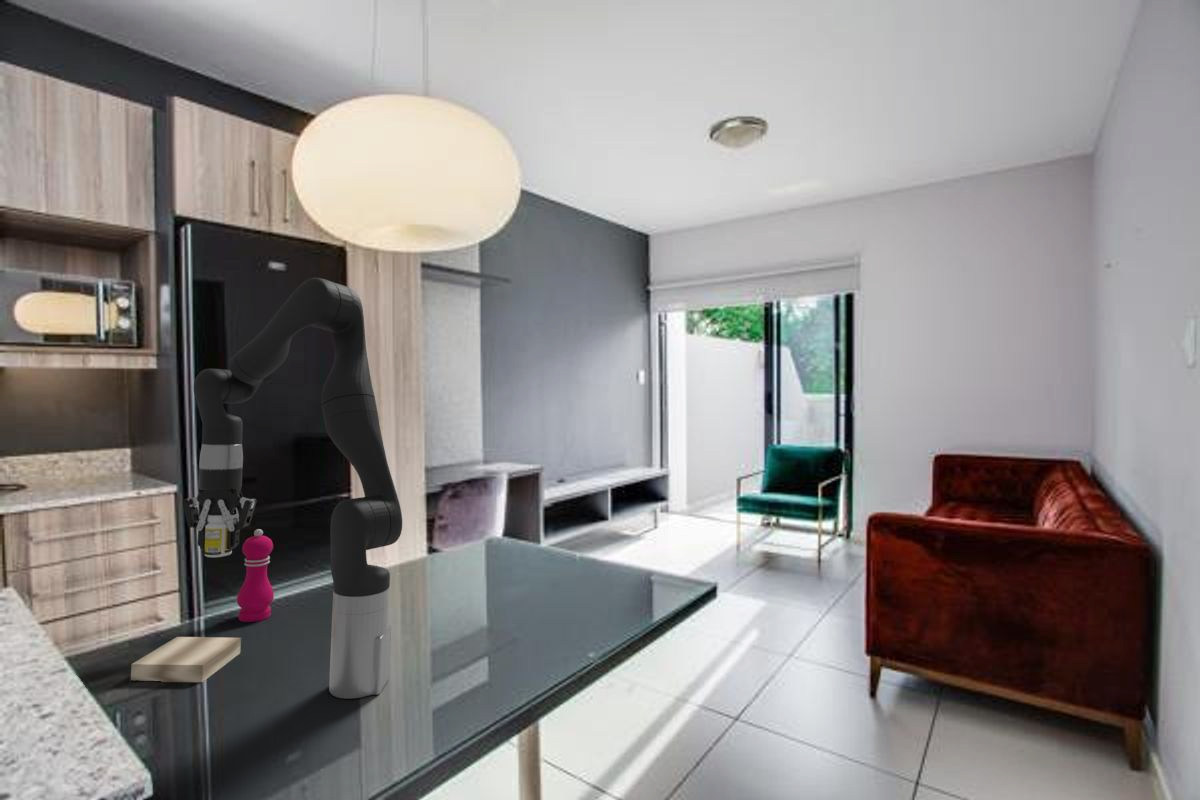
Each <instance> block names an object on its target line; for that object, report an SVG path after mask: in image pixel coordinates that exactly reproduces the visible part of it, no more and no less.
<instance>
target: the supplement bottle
mask: <svg viewBox="0 0 1200 800" xmlns="http://www.w3.org/2000/svg"><path fill="white" fill-rule="evenodd" d="M230 515H231V514H230ZM208 522H209V523H208V524H207V525H206V526H205V549H204V556H205V557H207V558H222V557H226V556H230V555H231V554H232V553H233V549H227V536H228V531H229V529H228V526H227V523H226V521H224V519H223V515H208Z"/></svg>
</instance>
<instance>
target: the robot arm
mask: <svg viewBox="0 0 1200 800" xmlns="http://www.w3.org/2000/svg"><path fill="white" fill-rule="evenodd" d="M273 315H274V316H273V317H272V318H271V319H270V320H269V322H268V323H267V324H266V326H265V327H264V328H263V329H262V330H261V331H260V333H258V334H256V336H255V337H254V338H252V339H251V340H250V341H249V342H248V343H246V345H244V346H243V347H241V349H239V350H238V351H237V352H236V353H234V355H233V356H232V357H231V358H230V360H229V363H228V368H229V369H221V368H205V369H203V370H201V371H200V372H199V373H198V374H197V376H196V377H195V379H194V382H193V393H194V398H195V401H196V405H197V408H198V411H199V412H198V413H199V416H200V419H201V423H202V433H201V434H202V435H201V449H200V453H199V462H198V463H199V468H198V470H199V471H198V473H199V474H198V489H199V493H198V494H197V496H195V497H188V498H184V499H183V500H182V503H181V504H182V507H183V510H184V515H185V520H186V524H187V527H188V528H193V529H196V530H197V545H198V547H199V549H200V550H205V526H206V525H207V524H208V523H209V522H208V515H223V519H224V521H226V523H227V526H228V529H229V531H228V536H227V549H232V550H233V549H236V548H237V547H238V545H239V544H240V531H241V530H242V529H243V528H246V527H248V526H250V524H251V521H252V518H253V515H254V511H255V508H256V504H257V502H258V501H257V499H256V498H247V497H244V496H243V494H242V486H243V467H244V466H243V463H244V451H243V432H244V431H243V429H244V428H243V419H242V418H241V417H240V416H237V415H233V414H229V413H228V412H226V410H225V407H224V404H242V403H244V402H246V401H249V400H250V399H252V397H253V396H254V395H255V394H256V392H257V390H258V388H259V387H260V386H261V384H262V383H263V381H264V379H265V378H267V377H269V375H271V374H272V373H274V371H276V370H277V369H278V368H280V367H281V365H282V364H283V363H284V362H285V361H286V359H287V357H288V355H289V352H290V348H291V341H292V339H293V337H294V336H295V335H296V334H297V333H299V332H300V331H302V330H304V329H306V328H308V327H313V328H315V329H319V330H325V331H329V332H330V334H331V338H332V343H333V350H334V351H333V352H334V360H333V364H332V366H331V369H330V370H329V373H328V375H327V377H326V380H325V382H324V384H323V387H322V390H321V393H320V394H321V395H320V400H321V401H320V402H321V403H320V404H321V408H322V409H321V410H322V416H323V420H324V427H325V431H326V433H327V435H328V437H329V438H330V440H331V441H332V443H333V444H334V445H335V447H336V448H337V449H338V451H340V452H341V454H342V455H343V456H344V457H345V458H346V459H347V460H348V462H349V463H350V465H351V466H352V467H353V469H354V470H355V471H356V473H357V475H358V478H359V481H360V483H361V487H362V490H363V493H364V496H362V497H354V498H348V499H344V500H341V501H339V502H338V503H337V504H336V505H335V507H334V509H333V511H332V512H331V513H332V514H331V519H330V528H329V529H330V531H329V532H330V539H329V540H330V573H331V577H332V582H333V588H332V589H333V591H332V609H331V610H332V612H331V633H330V634H331V635H330V636H331V637H330V639H331V640H330V656H329V657H330V659H329V677H328V681H329V686H328V688H329V689H328V691H329V693H330V694H331V695H332V696H333V697H335V698H339V699H347V700H348V699H351V700H352V699H359V698H365V697H368V696H373V695H379V694H381V692H382V690H383V689H384V687H385V686H386V685H387V682H388V681H389V680H390V670H391V669H390V667H391V646H392V645H391V643H392V626H390V625H389V607H390V589H391V587H390V585H391V582H390V581H391V575H390V574H391V573H390V571H389V570H388V569H387V568H385V567H383V566H378V565H373V564H368V561H367V559H368V558H367V551H368V550H373V549H378V548H382V547H383V548H384V547H389V546H391V545H393V544H395V543H397V542H398V540H399V538H400V537H401V535H402V530H403V515H402V508H401V504H400V501H399V497H398V493H397V491H396V486H395V483H394V481H393V478H392V477H393V476H392V473H391V471H390V467H389V464H388V459H387V455H386V450H385V446H384V441H383V436H382V432H381V425H380V418H379V412H378V407H377V402H376V396H375V393H374V392H375V391H374V389H373V383H372V377H371V371H370V366H369V358H368V353H367V352H368V351H367V344H366V343H367V342H366V328H365V318H364V317H365V315H364V307H363V303H362V300H361V298H360V296H359V294H358V293H357V292H356V291H355V290H354V289H352V288H351V287H349V286H346V285H343V284H340V283H336V282H334V281H330V280H328V279H324V278H321V277H310V278H308V279H306V280H305V281H302V283H301V284H299V285H298V286H297V287H296V288H295V290H293V292H292V293H291V294H290V296H289V297H287V299H286V301H285V302H284V303H283V304H282V305H281V306H280V308H279V309H278V310H277V311H276V313H275V314H273ZM199 505H200V506H201V508H202V510H201V512H200V511H199ZM239 505H240V508H241V509H242V510H241V513H240V514H239V510H238V507H239ZM230 514H231V515H230Z"/></svg>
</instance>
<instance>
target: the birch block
mask: <svg viewBox="0 0 1200 800" xmlns="http://www.w3.org/2000/svg"><path fill="white" fill-rule="evenodd" d="M241 643H242V637H224V636H222V637H220V636H219V637H214V636H212V637H210V636H209V637H207V636H206V637H205V636H202V637H201V636H176V637H175V638H173V639H171V640H170V641H168V642H166V643H164V644H163V645H161V646H159V647H157V648H156V649H155V650H153V651H151V652H150V653H148V654H146V655H144V656H143V657H141V658H139V659H138V660H136V661H135V662H132V663H131V665H130V666H131V668H130V669H131V670H130V681H131V680H154V681H161V682H160V683H204V681H206V680H207V679H209V678H210V677H211V676H213V674H215V673H216V672H218V671H219V670H221V669H222V668H223V667H224V666H225V665H227V664H228V663H229V662H231V661H232V660H233V659H235V658H236V657H238V656H239V655H240V654H241V647H242V646H241Z"/></svg>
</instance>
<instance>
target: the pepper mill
mask: <svg viewBox="0 0 1200 800" xmlns="http://www.w3.org/2000/svg"><path fill="white" fill-rule="evenodd" d="M253 534H254V535H252V536H250V537H249V538H247V539H246V540H245V541H244V543H243V544H242V551H241V552H242V554H243V555H244V556H245V558H244V564H243V565H244V566H246V568H245V569H246V573H245V574H246V575H245V578H244V581H243V583H242V585H241V587H240V589H239V592H238V594H237V598H236V603H237V605H238V607H239V608H241V609H240V610H239V612H238V620H239V621H240V622H243V623H254V622H259V621H260V622H261V621H264V620H265V619H266V620H267V619H268V618H270V617H271V615H272V612H271V611H272V609H271V608H272V607H271V606H270V605H271V603H273V600H274V597H275V595H274V593H275V592H274V589H273V586H272V585H271V582H270V581H269V578H268V564H270V563H271V561H270V560H271V557H270V554H271V553H272V551H273V549H274V543H273V540H272V539H271V538H269V537H268V536H266V535H263V534H264V531H263V530H262V529H260V528H257V529H255V530H254V532H253Z"/></svg>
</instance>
